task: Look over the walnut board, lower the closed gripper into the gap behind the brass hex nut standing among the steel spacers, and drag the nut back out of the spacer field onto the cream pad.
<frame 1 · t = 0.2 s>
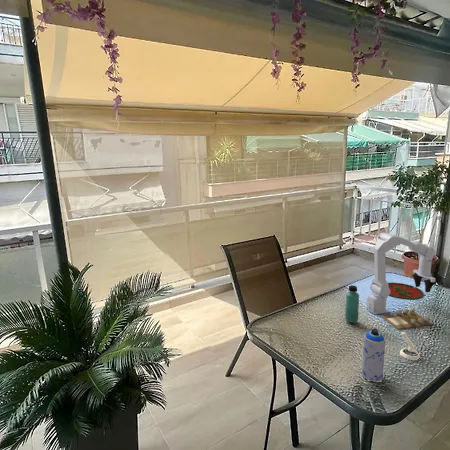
hand: (422, 289, 174), 10 cm above the table, tool pointing down, fingers open, 7 cm apart
aerosol can: (371, 376, 121), on the table
beverage bottle: (351, 322, 161), on the table
decorative plate: (400, 292, 196), on the table
hook: (409, 355, 132), on the table
brass nut: (412, 318, 160), point 1 cm above the table, touching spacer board
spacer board: (406, 321, 160), on the table
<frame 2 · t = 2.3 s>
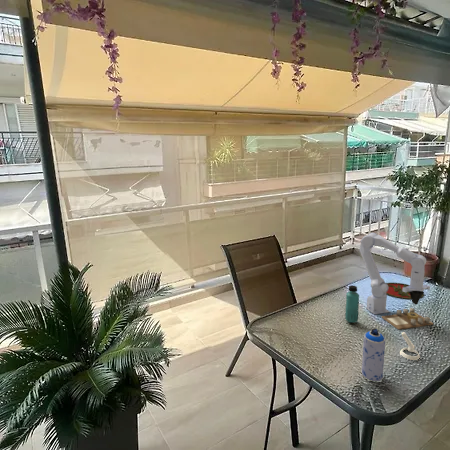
hand: (414, 303, 159), 9 cm above the table, tool pointing down, fingers closed
nothing on the table moved.
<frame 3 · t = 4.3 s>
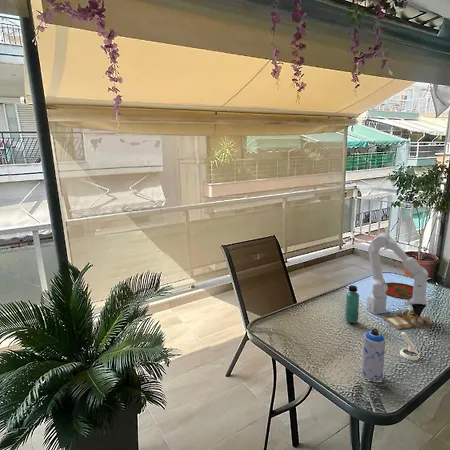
hand: (417, 316, 161), 2 cm above the table, tool pointing down, fingers closed
brass nut: (411, 318, 160), point 1 cm above the table, touching gripper
everything else where it was.
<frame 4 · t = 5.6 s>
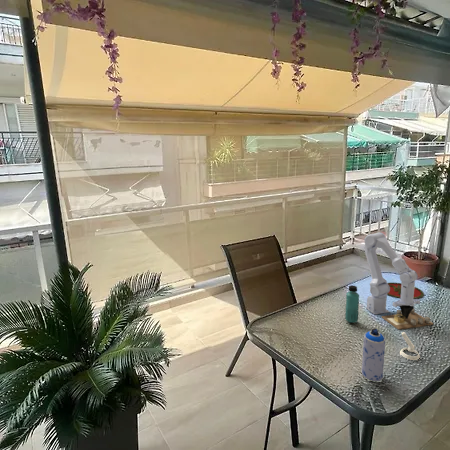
hand: (405, 317, 159), 2 cm above the table, tool pointing down, fingers closed
brass nut: (399, 320, 159), point 1 cm above the table, touching gripper
everything else where it was.
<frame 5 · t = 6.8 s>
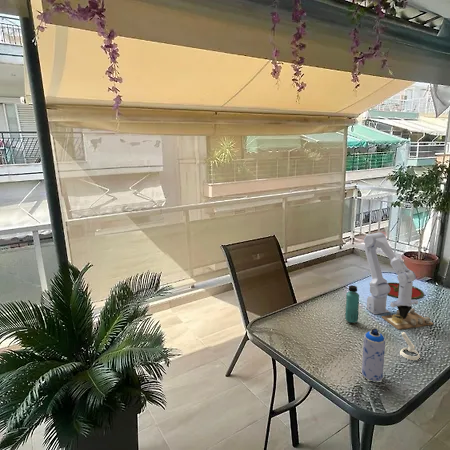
hand: (403, 318, 159), 2 cm above the table, tool pointing down, fingers closed
brass nut: (397, 320, 159), point 1 cm above the table, touching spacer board
everything else where it was.
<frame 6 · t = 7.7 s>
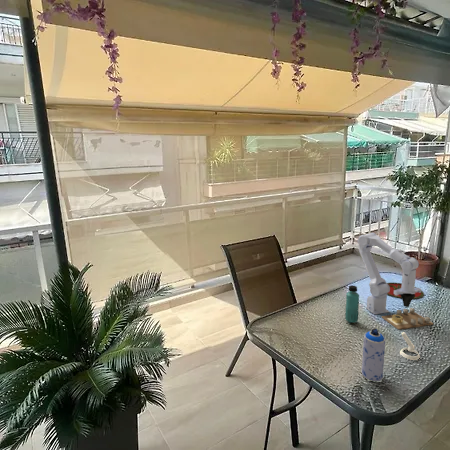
hand: (406, 306, 158), 8 cm above the table, tool pointing down, fingers closed
nothing on the table moved.
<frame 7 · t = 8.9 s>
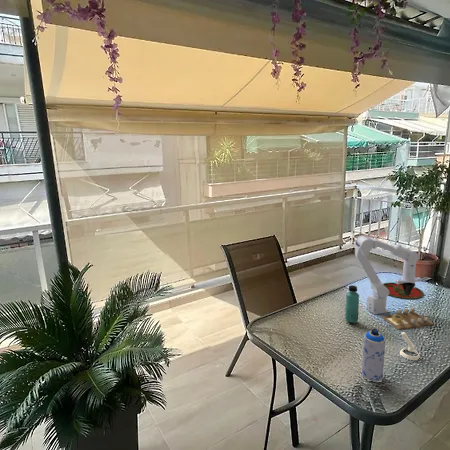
hand: (407, 294, 169), 9 cm above the table, tool pointing down, fingers closed
nothing on the table moved.
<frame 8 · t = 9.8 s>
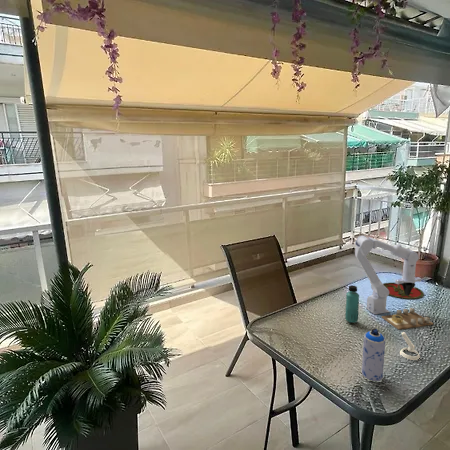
hand: (407, 294, 169), 9 cm above the table, tool pointing down, fingers closed
nothing on the table moved.
at the end: brass nut 0.1 cm from the target spot on the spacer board, point 0.8 cm above the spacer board's base; brass nut tilted 0° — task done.
